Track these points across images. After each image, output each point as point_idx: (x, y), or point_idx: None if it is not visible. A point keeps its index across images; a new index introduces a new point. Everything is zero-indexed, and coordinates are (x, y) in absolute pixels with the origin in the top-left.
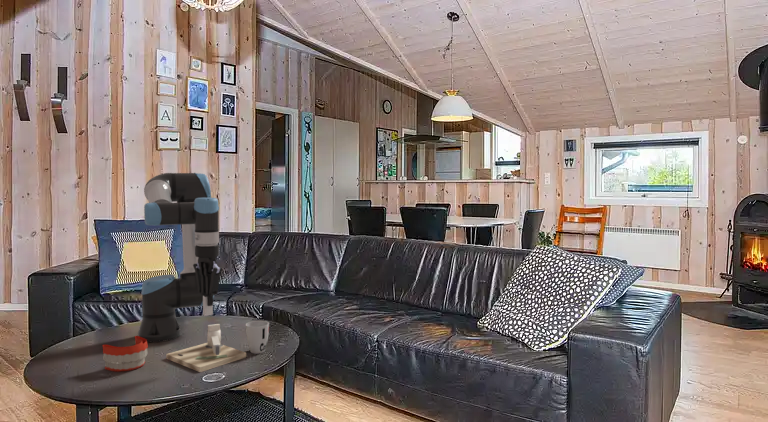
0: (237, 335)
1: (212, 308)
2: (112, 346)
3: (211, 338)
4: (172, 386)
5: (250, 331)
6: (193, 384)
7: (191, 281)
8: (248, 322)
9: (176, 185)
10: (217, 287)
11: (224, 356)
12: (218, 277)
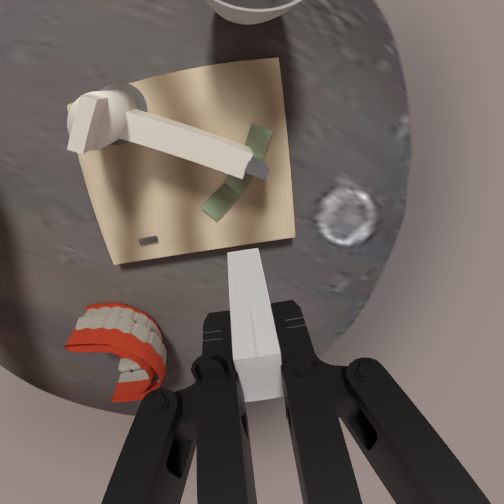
0: (40, 6)
1: (263, 274)
2: (127, 394)
3: (129, 139)
4: (321, 304)
5: (275, 14)
6: (348, 270)
7: None
8: None
9: None
10: (416, 416)
11: (267, 139)
12: (478, 500)
